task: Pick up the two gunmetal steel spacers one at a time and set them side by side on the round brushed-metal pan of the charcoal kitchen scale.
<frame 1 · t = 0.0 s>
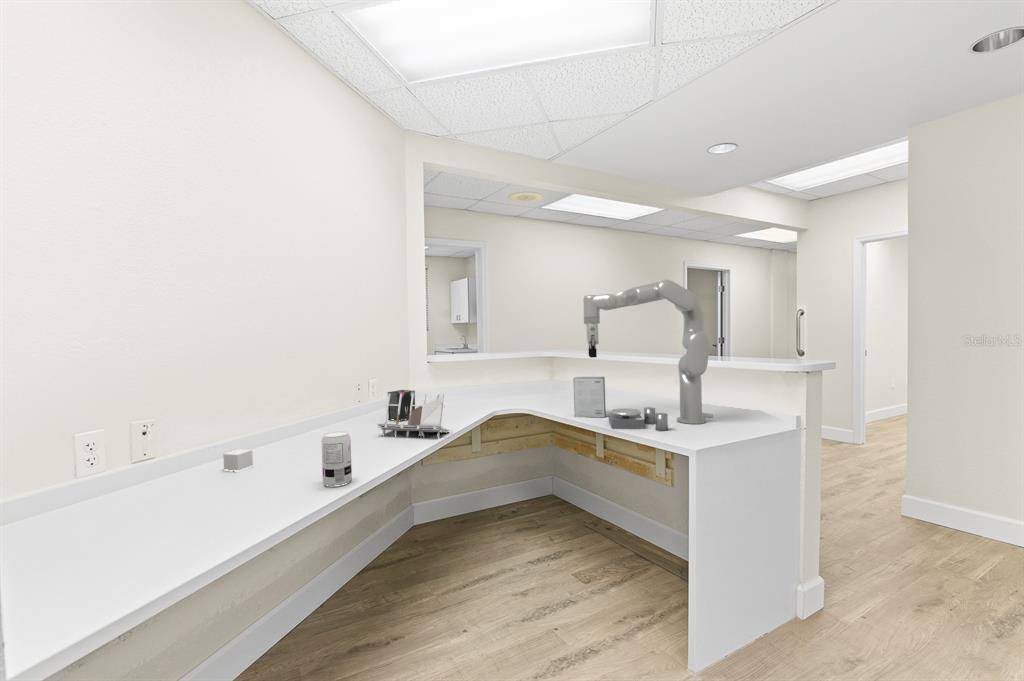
hand: (592, 356, 217), 31 cm above the worktop, tool pointing down, fingers open, 9 cm apart
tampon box: (402, 419, 235), on the worktop
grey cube: (238, 470, 154), on the worktop
scale body: (626, 425, 207), on the worktop
scale pan: (625, 413, 207), point 5 cm above the worktop, slide at -0.3 cm
architectural model: (414, 435, 199), on the worktop
steel spacer 2: (649, 423, 210), on the worktop
steel spacer 1: (661, 430, 196), on the worktop
hard drive box: (590, 416, 232), on the worktop
supplement can: (337, 483, 137), on the worktop
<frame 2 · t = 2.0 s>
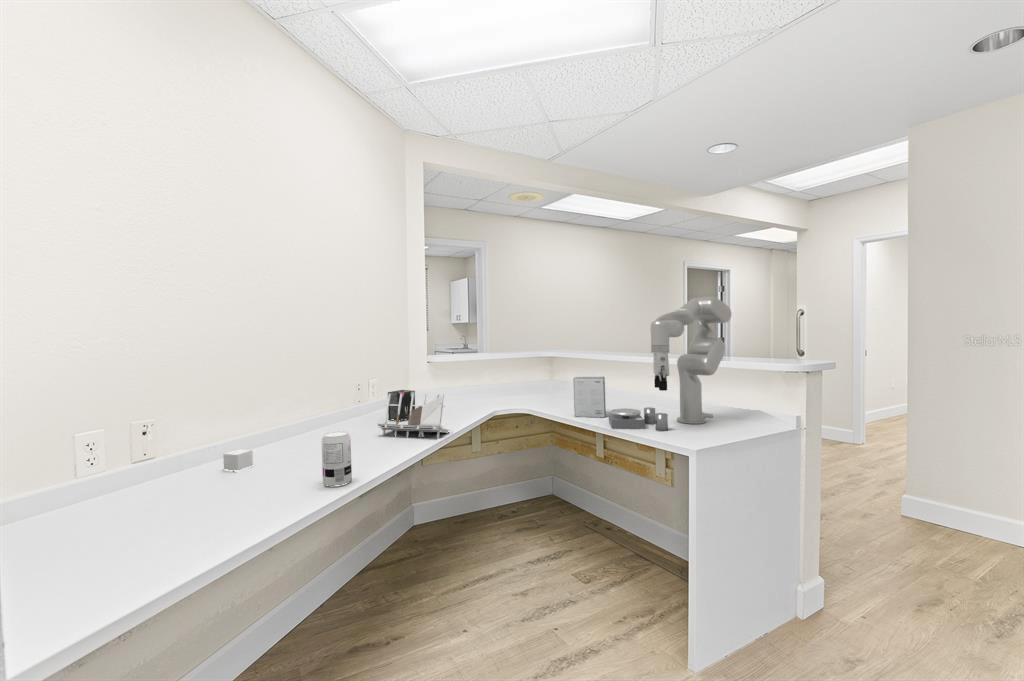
hand: (660, 388, 196), 18 cm above the worktop, tool pointing down, fingers open, 9 cm apart
nothing on the worktop moved.
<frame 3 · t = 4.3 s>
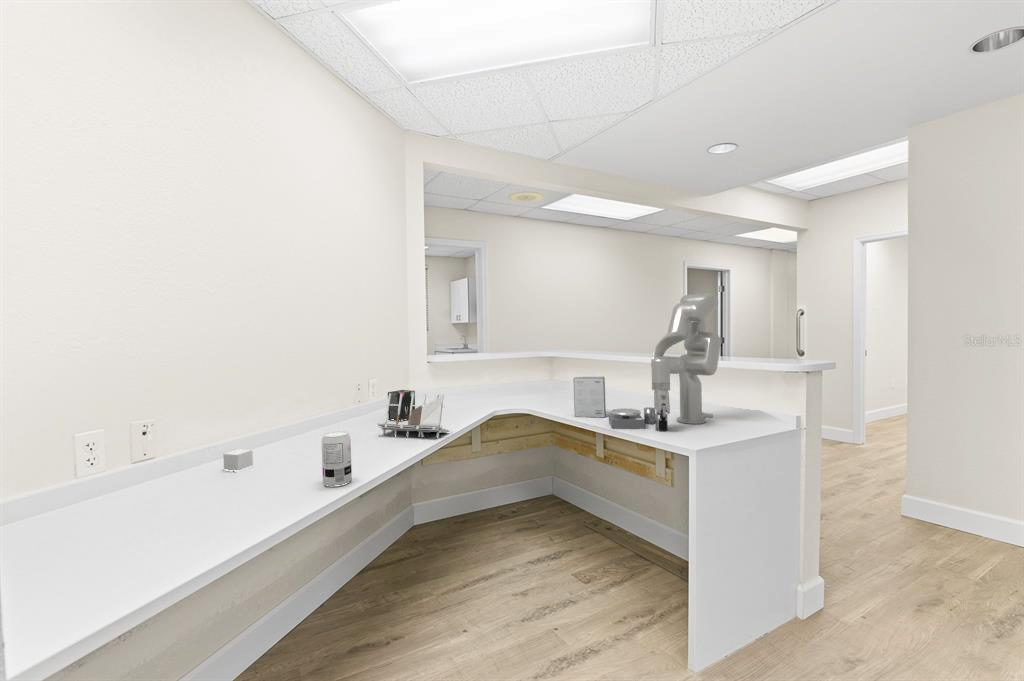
hand: (661, 427, 196), 1 cm above the worktop, tool pointing down, fingers closed on steel spacer 1, 5 cm apart
steel spacer 1: (661, 430, 196), on the worktop, touching gripper
everything else where it was.
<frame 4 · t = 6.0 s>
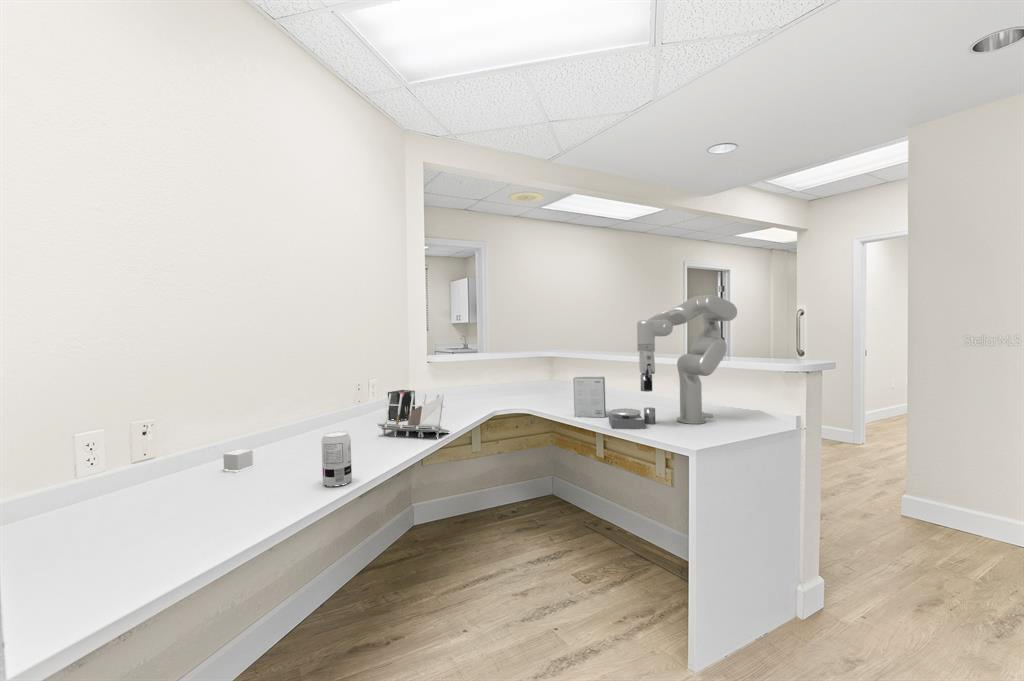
hand: (646, 388, 201), 18 cm above the worktop, tool pointing down, fingers closed on steel spacer 1, 5 cm apart
steel spacer 1: (646, 390, 201), point 17 cm above the worktop, touching gripper
everything else where it was.
when the fingers open (9 cm above the worktop, at t = 8.2 s): steel spacer 1 drops 2 cm, resting on scale pan.
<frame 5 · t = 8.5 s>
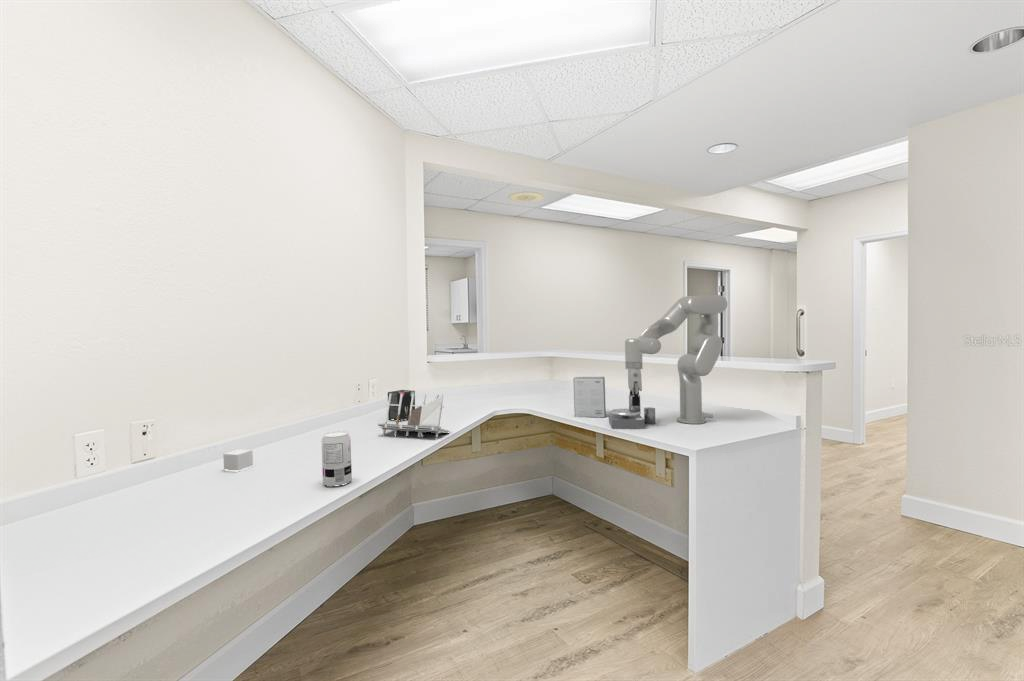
hand: (634, 403, 206), 10 cm above the worktop, tool pointing down, fingers open, 7 cm apart
scale pan: (625, 413, 207), point 5 cm above the worktop, slide at -0.4 cm, touching steel spacer 1
steel spacer 1: (634, 411, 206), point 7 cm above the worktop, touching scale pan
everything else where it was.
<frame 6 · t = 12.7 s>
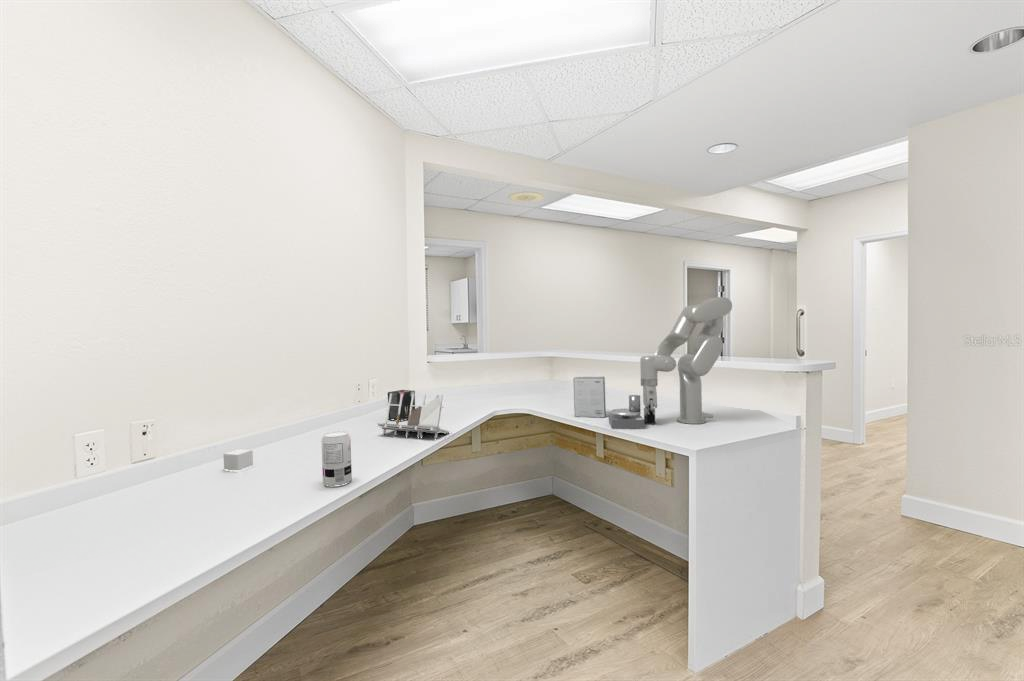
hand: (649, 421, 210), 1 cm above the worktop, tool pointing down, fingers closed on steel spacer 2, 5 cm apart
steel spacer 2: (649, 423, 210), on the worktop, touching gripper
when the fingers open (9 cm above the worktop, at t = 16.8 s): steel spacer 2 drops 2 cm, resting on scale pan.
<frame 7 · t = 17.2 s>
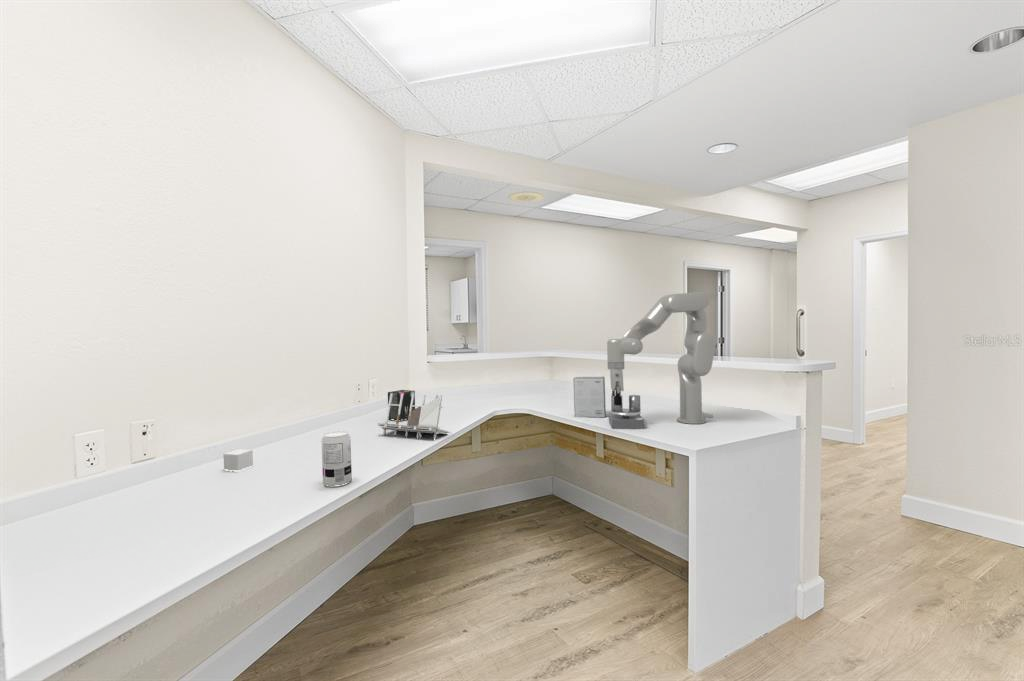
hand: (616, 403, 207), 10 cm above the worktop, tool pointing down, fingers open, 9 cm apart
scale pan: (625, 413, 207), point 5 cm above the worktop, slide at -0.4 cm, touching steel spacer 1, steel spacer 2
steel spacer 2: (617, 411, 207), point 7 cm above the worktop, touching scale pan
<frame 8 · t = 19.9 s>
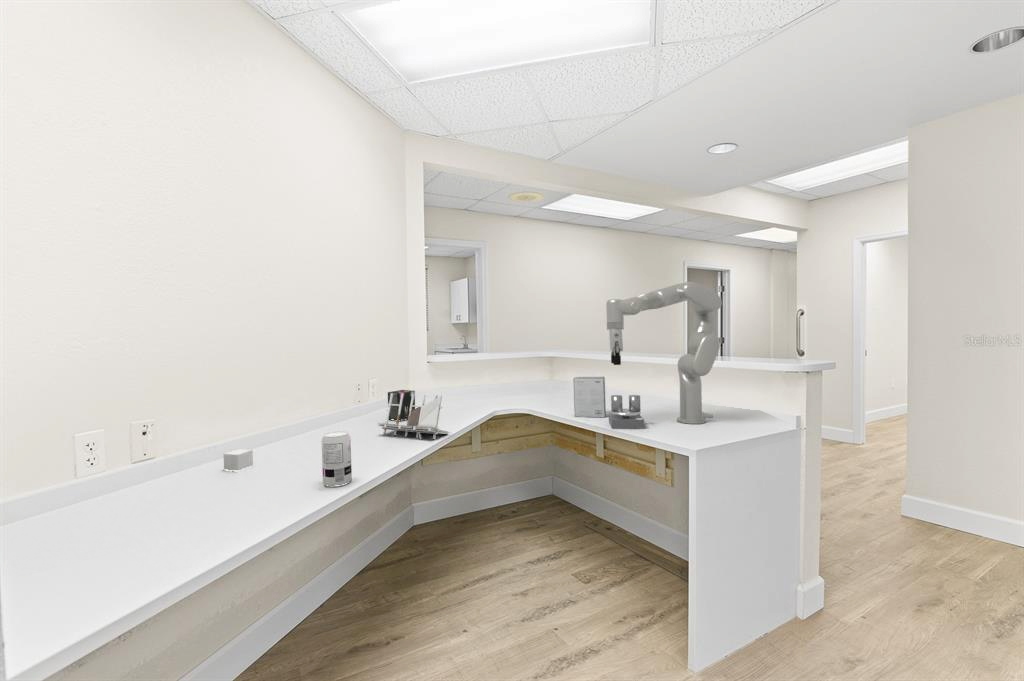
hand: (615, 363, 207), 28 cm above the worktop, tool pointing down, fingers open, 9 cm apart
at the end: steel spacer 1 inside the target area on the scale body (4.1 cm from its centre), point 6.6 cm above the scale body's base; steel spacer 2 inside the target area on the scale body (3.9 cm from its centre), point 6.6 cm above the scale body's base; steel spacer 2 tilted 0° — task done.
